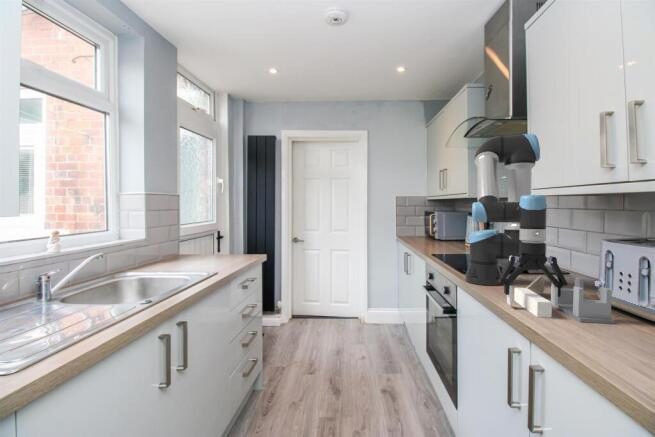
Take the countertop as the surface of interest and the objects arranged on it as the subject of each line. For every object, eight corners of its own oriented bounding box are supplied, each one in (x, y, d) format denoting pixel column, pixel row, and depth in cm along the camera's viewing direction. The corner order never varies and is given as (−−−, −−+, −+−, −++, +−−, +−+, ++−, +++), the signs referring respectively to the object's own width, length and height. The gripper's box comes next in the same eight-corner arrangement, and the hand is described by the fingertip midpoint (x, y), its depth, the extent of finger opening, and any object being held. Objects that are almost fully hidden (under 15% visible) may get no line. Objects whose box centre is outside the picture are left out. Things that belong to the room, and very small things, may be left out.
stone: (512, 295, 132) (523, 273, 134) (530, 304, 130) (540, 282, 132) (524, 293, 122) (535, 269, 124) (543, 303, 120) (554, 279, 122)
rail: (514, 301, 120) (514, 287, 120) (526, 301, 120) (526, 287, 120) (537, 317, 103) (537, 301, 103) (551, 318, 102) (551, 302, 102)
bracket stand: (548, 302, 118) (548, 275, 117) (576, 303, 116) (577, 276, 116) (580, 322, 98) (580, 290, 98) (615, 323, 96) (615, 291, 96)
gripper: (495, 242, 109) (494, 306, 109) (581, 243, 104) (579, 310, 105) (488, 240, 116) (488, 300, 117) (568, 241, 112) (567, 303, 112)
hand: (531, 305), depth 111 cm, fingers open, 13 cm apart
